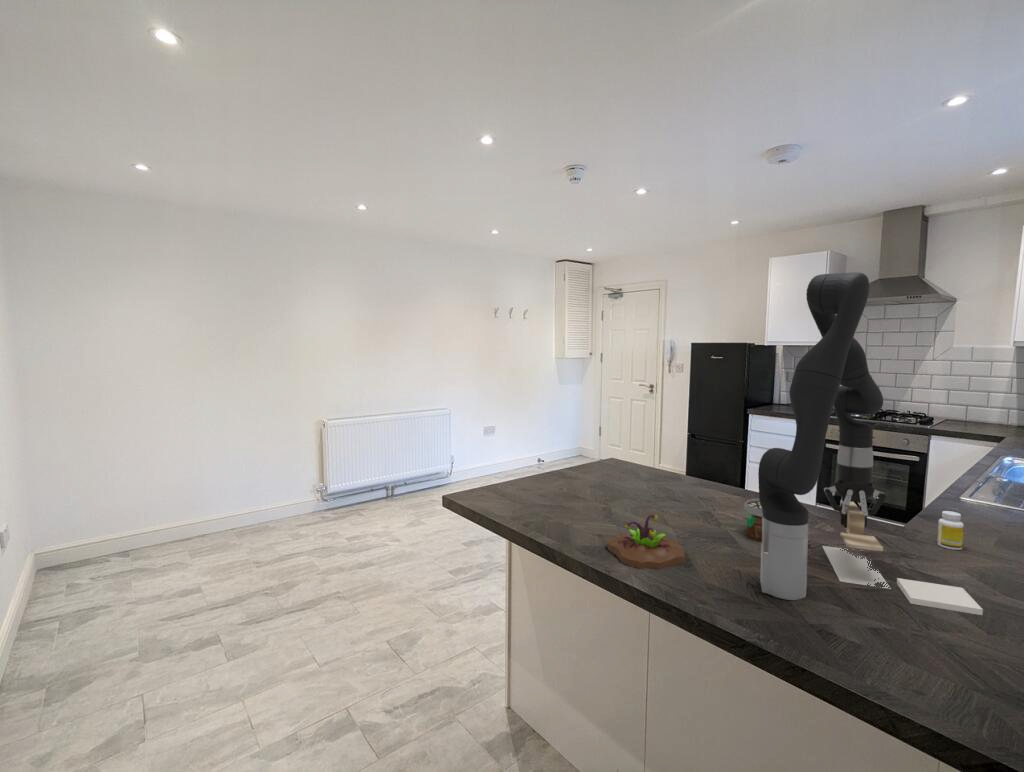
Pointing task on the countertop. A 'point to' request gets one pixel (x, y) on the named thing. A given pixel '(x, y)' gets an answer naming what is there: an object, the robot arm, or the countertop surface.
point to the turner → (858, 531)
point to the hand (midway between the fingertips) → (852, 527)
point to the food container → (754, 519)
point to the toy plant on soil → (646, 548)
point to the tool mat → (852, 568)
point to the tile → (939, 596)
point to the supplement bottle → (950, 531)
